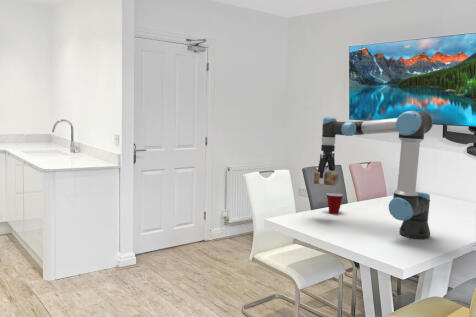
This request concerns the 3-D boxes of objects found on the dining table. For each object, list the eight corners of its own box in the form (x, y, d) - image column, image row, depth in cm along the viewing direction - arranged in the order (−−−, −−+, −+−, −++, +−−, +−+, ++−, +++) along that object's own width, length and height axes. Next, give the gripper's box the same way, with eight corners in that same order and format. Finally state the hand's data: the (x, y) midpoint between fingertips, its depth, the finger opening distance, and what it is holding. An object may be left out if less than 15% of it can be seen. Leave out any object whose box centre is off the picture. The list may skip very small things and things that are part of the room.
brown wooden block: (337, 183, 259) (338, 173, 258) (334, 185, 251) (335, 175, 250) (317, 181, 264) (318, 171, 263) (313, 183, 255) (314, 173, 255)
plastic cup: (341, 211, 282) (342, 192, 280) (343, 215, 271) (345, 196, 270) (324, 210, 283) (325, 191, 282) (325, 214, 272) (326, 195, 271)
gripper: (330, 143, 266) (328, 179, 268) (312, 144, 248) (310, 184, 251) (342, 144, 261) (340, 181, 264) (325, 146, 243) (322, 185, 246)
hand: (325, 182), depth 257 cm, fingers closed on brown wooden block, 10 cm apart
